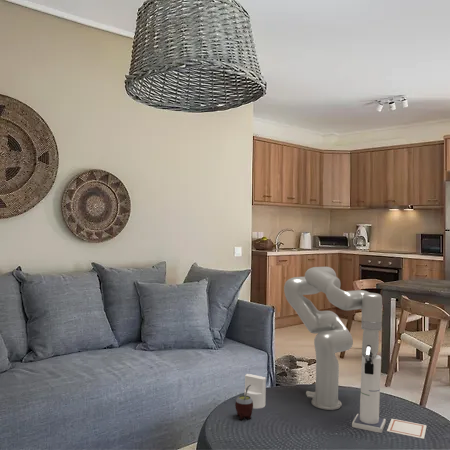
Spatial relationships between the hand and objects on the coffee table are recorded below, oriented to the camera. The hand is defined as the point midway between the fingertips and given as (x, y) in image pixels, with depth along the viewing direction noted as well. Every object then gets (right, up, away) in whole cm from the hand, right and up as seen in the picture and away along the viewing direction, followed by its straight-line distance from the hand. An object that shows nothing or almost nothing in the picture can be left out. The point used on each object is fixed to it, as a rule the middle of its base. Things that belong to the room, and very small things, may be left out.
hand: (370, 370), depth 188 cm
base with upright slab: (-44, -20, +19) cm, 52 cm away
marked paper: (+13, -22, -2) cm, 25 cm away
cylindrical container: (-1, -20, 0) cm, 20 cm away
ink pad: (-1, -21, 0) cm, 21 cm away
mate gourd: (-49, -20, +5) cm, 53 cm away
